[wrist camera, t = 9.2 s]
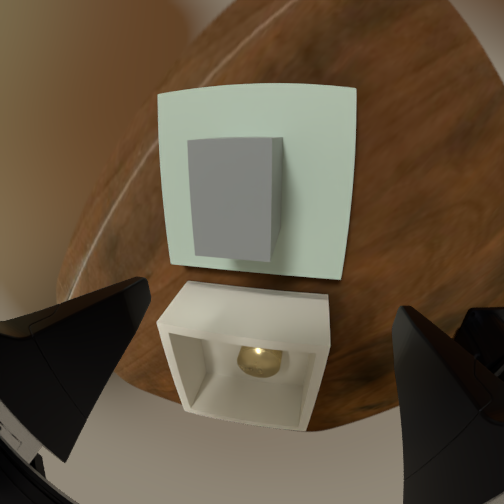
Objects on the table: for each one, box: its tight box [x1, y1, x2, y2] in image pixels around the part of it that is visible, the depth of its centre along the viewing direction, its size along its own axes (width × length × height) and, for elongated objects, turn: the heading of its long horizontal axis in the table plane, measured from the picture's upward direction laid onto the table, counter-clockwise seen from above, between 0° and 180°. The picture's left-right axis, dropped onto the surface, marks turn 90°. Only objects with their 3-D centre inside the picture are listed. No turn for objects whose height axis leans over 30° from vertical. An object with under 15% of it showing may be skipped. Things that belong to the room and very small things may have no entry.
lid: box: [158, 83, 356, 280], centre depth 16 cm, size 13×13×7 cm
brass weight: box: [237, 346, 283, 378], centre depth 22 cm, size 4×4×3 cm
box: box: [157, 281, 331, 431], centre depth 22 cm, size 12×12×6 cm
